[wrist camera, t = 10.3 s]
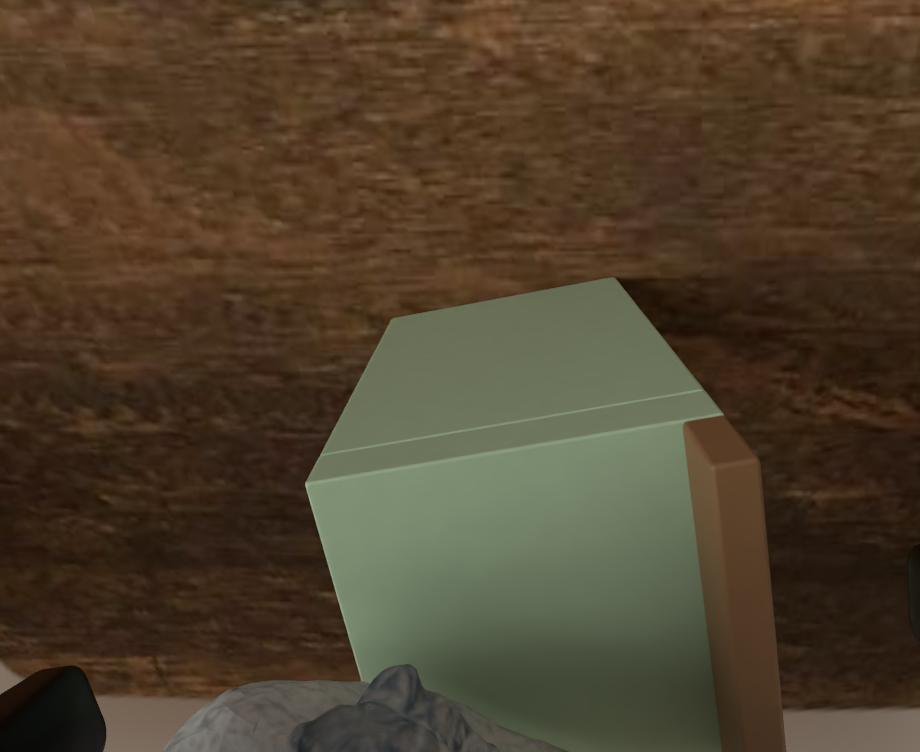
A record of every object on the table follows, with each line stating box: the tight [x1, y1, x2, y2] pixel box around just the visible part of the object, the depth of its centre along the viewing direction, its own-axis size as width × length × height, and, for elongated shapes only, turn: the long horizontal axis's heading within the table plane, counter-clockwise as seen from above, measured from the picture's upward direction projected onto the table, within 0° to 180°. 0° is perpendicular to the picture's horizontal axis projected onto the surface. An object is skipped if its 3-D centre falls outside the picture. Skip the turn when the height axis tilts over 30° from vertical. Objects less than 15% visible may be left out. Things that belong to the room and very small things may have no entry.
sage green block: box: [305, 277, 786, 752], centre depth 16 cm, size 6×9×12 cm
